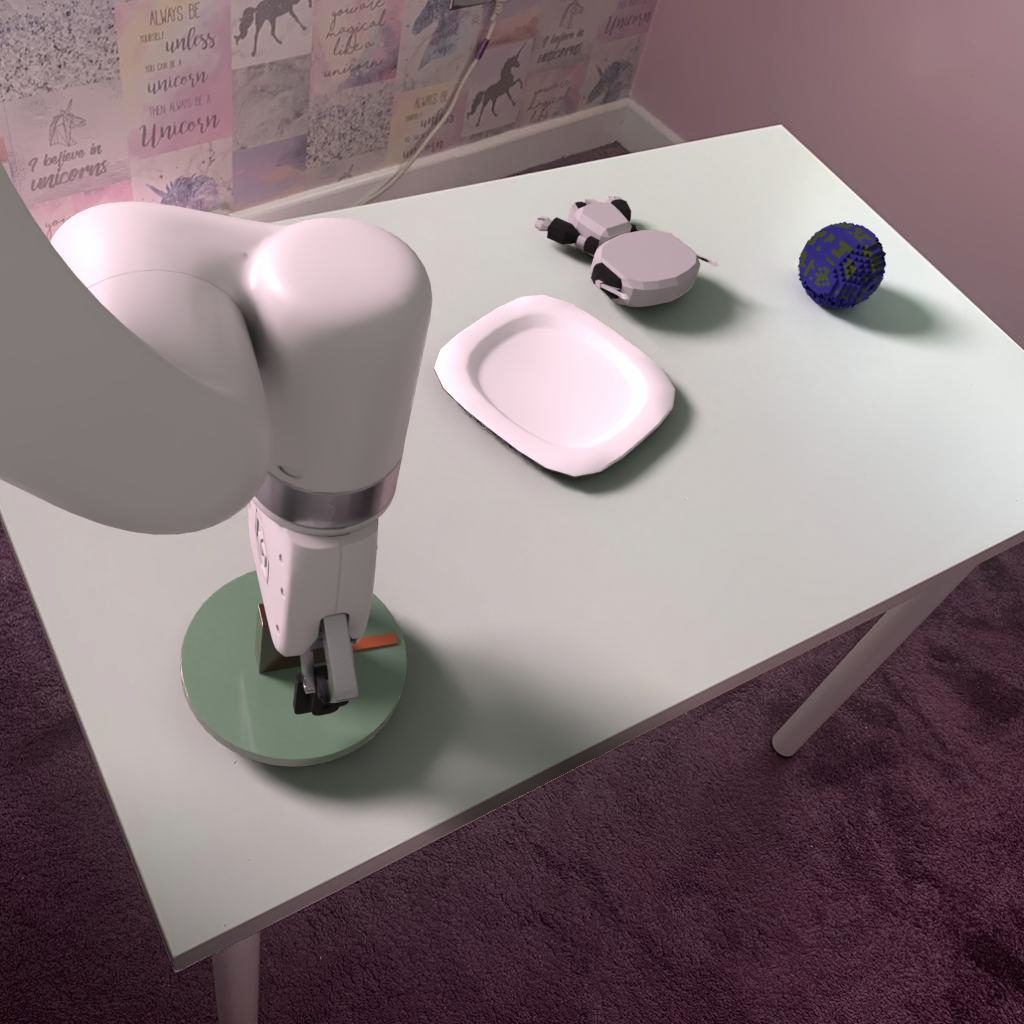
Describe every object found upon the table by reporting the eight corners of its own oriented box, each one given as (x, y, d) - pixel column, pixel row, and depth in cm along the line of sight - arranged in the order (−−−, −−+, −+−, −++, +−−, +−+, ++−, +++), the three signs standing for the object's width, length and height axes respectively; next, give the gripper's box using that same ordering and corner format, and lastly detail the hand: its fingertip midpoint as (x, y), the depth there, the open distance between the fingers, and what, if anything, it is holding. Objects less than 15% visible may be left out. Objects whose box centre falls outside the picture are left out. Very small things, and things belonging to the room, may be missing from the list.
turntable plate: (199, 789, 61) (198, 739, 56) (166, 589, 69) (163, 529, 64) (429, 741, 66) (447, 691, 61) (375, 559, 74) (388, 501, 69)
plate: (692, 402, 94) (699, 389, 93) (573, 508, 83) (579, 495, 82) (537, 291, 99) (541, 276, 97) (406, 377, 88) (409, 363, 87)
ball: (772, 281, 108) (804, 220, 102) (815, 259, 112) (849, 200, 106) (831, 329, 105) (867, 270, 99) (873, 306, 109) (911, 247, 103)
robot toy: (520, 245, 104) (619, 335, 97) (528, 205, 100) (632, 295, 94) (611, 217, 110) (710, 299, 103) (622, 178, 107) (725, 261, 100)
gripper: (216, 338, 55) (218, 531, 68) (280, 618, 46) (268, 779, 59) (357, 329, 58) (332, 516, 71) (445, 591, 49) (397, 751, 62)
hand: (303, 635), depth 65 cm, fingers open, 9 cm apart
